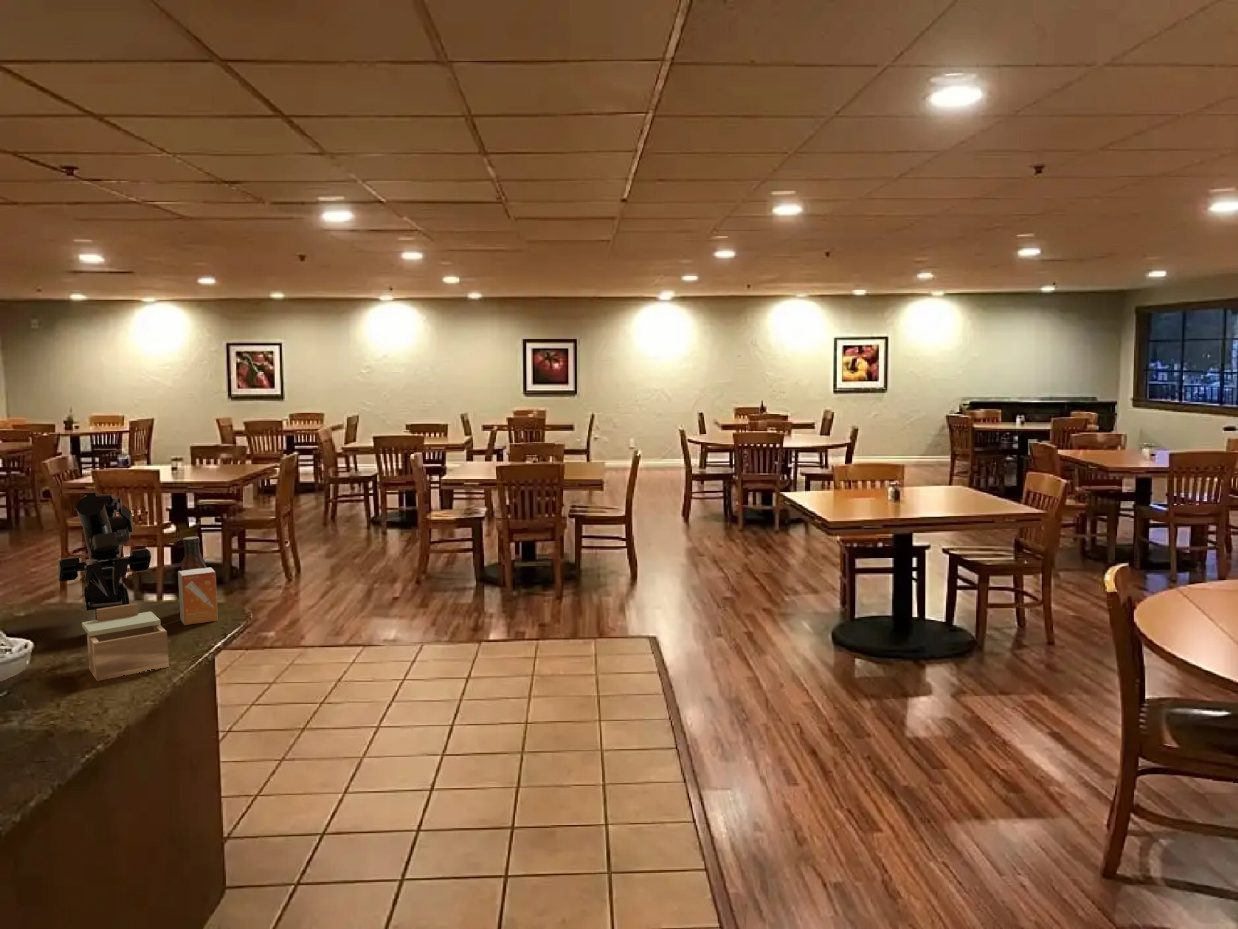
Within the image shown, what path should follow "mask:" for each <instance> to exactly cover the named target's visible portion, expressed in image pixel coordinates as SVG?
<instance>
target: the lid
mask: <svg viewBox="0 0 1238 929" xmlns="http://www.w3.org/2000/svg"><path fill="white" fill-rule="evenodd" d="M138 609H139V608H138V603H136V602H134V603H130V604H126V605H120V606H113V607H107V608H100V609H96V611H97V620H95V619H94V620H88V621H82V622H81V627H82V628H83V630H84V631H85V633H86V635H87V634H88V635H89V636H95V635H101V634H106V633H112V632H118V631H124V630H130V629H136V628H142V627H148V626H154V625H161V619H160V618H159V617H157V616H156V614H155V613H154V612H152V611H145V612H139V610H138Z"/></svg>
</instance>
